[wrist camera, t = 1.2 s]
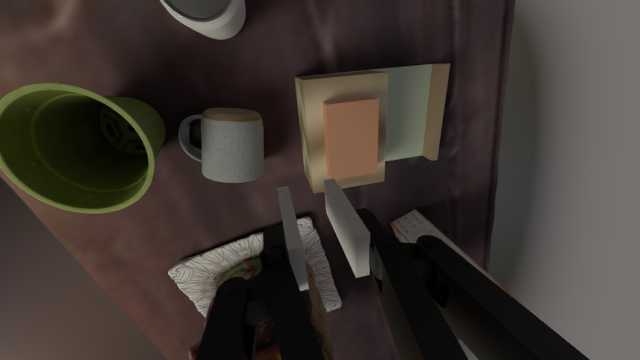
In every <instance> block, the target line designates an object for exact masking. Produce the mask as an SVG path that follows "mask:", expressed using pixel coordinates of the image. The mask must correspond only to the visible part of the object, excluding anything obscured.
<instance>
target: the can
mask: <svg viewBox="0 0 640 360" xmlns="http://www.w3.org/2000/svg"><path fill="white" fill-rule="evenodd" d="M160 1H161V3H162V4H163V5H164V7H165V8H166V9H167V10H168V12H169V13H170V14H171V15H172V16H173V17H175V18H176V19H177V20H178V21H180V22H181V23H183V24H184V25H186V26H188V27H189V28H191V29H193V30H195V31H197V32H199V33H201V34H203V35H205V36H207V37H210V38H213V39H218V40H224V39H229V38H231V37H233V36H235V35H236V34H237V33H238V32H239V31H240V30H241V28H242V26H243V24H244V21H245V16H246V8H245V2H244V0H160Z"/></svg>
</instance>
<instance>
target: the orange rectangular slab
mask: <svg viewBox="0 0 640 360" xmlns="http://www.w3.org/2000/svg"><path fill="white" fill-rule="evenodd" d="M322 105H323V120H324V135H325V149H326V164H327V174H328V176H329V178H330V179H341V178H347V177H353V176H359V175H365V174H371V173H377V156H378V117H379V99H378V98H375V97H363V98H354V99H345V100H336V101H327V102H322Z"/></svg>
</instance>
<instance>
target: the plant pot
mask: <svg viewBox="0 0 640 360" xmlns="http://www.w3.org/2000/svg"><path fill="white" fill-rule="evenodd" d="M102 114H103V115H105V116H106V117H108V118H106V117H104V116H103V115H102ZM109 118H110V119H109ZM107 124H110V125H111V127H112V130H113V132H114V134H115V135H114V136H112V135H111V134H110V133H109V131H108V128H107ZM130 125H132V126H133V128H134V129H135V131H132V130H130V129H129V126H130ZM165 136H166V131H165V125H164V122H163V120H162V118H161V116H160V115H159V114H158V112H157V111H156V110H155V109H154V108H152V107H151V106H149V105H148V104H146V103H144V102H142V101H140V100H138V99H134V98H128V97H115V96H103V95H100V94H98V93H95V92H93V91H91V90H88V89H85V88H82V87H78V86H74V85H69V84H63V83H49V82H48V83H36V84H30V85H26V86H23V87H20V88H18V89H16V90H14V91H12V92H10V93H8V94H7V95H5V96H4V97H3V98H2V99H1V100H0V168H1V169H2V170H3V172H4V173H5V174H6V175H7V176H8V178H10V179H11V180H12V181H13V182H14V183H15V184H16V185H17V186H18V187H20V188H21V189H23V190H24V191H26V192H27V193H28V194H30V195H31V196H33V197H35V198H36V199H38V200H40V201H43V202H45V203H47V204H49V205H52V206H55V207H58V208H61V209H64V210H68V211H73V212H80V213H107V212H112V211H117V210H120V209H123V208H125V207H127V206H129V205H131V204H133V203H135V202H136V201H137V200H139V199H140V198H141V197H142V196H143V195H144V194H145V192H146V191H147V190H148V188H149V186H150V184H151V182H152V180H153V177H154V172H155V158H156V156H157V154H158V152H159V150H160V148H161V146H162V144H163V143H164V140H165ZM136 146H145V148H146V149H142V150H137V149H136Z"/></svg>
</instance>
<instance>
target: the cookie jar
mask: <svg viewBox="0 0 640 360" xmlns="http://www.w3.org/2000/svg"><path fill="white" fill-rule="evenodd" d="M297 224H298V228H299V232H300V236H301V240H302V244H303V248H304V256H305V264H306V271H307V279H308V286H309V289H307V290H303V291H300V292H301V294H302V297H303V300H304V303H305V305H306V308H307V311H308V314H309V317H310V319H311V322H312V325H313V328H314V330H315V333H316V336H317V339H318V341H319V344H320V347H321V350H322V353H323V355H324V358H325V360H333V347H332V341H331V338H330V335H329V330H328V315H327V313H328V312H330V311H332V310H335V309H337V308H340V307H341V305H342V302H341V299H340V297H339V295H338V292H337V289H336V287H335V285H334V280H333V278H332V275H331V270H330V265H329V263H328V260H327V258H326V256H325V252H324V250H323V248H322V246H321V244H320V240H321V239H320V238H319V236H318V233H317V230H316V229H315V228H314V227H313V223H312V220H311V218H310V217H303V218H299V219H297ZM262 249H263V232H260V233H255V234H252V235H250V236H248V237H245V238H242V239H240V240H237V241H234V242H231V243H228V244H225V245H223V246H220V247H217V248H214V249H212V250H209V251H206V252H204V253H201V254H198V255H196V256H193V257H189V258H186V259H184V260H182V261H180V262H178V263H177V264H176V265H175V266H174V267H173V268H172V269H171V270H170V271H169V272H168V274H169V275H170V276H171V278H172V279H173V280H174V281H175V283H176V284H177V285H178V287H179V289H180V290H182V291H183V292H184V293H185V294H186V295H187V296H189V298H190V300H192V301H193V302H194V303H195V305H196V307H197V309H198V311H199V312H201V313H202V314H203V315H204V316H205V321H204V330H205V327H206V324H207V320H208V317H209V314H210V311H211V308H212V304H213V301H214V298H215V295H216V292H217V289H218V287H219V286H220V285H221V284H222V283H223V282H224V281H225V280H227V279H229V278H232V277H243V278H245V279H246V280H247V279H249V278H251V277H253V276H255V275H256V274H258V273H259V272H260V271H261V269H262V267H261V263H260V258H259V255H260V252H261V250H262ZM201 340H202V338H201ZM201 340H200V341H199V342H198V343H197V344H195V345H194V346H192V347H191V348H190V349H189V359H190V360H195V359H196V356H197V352H198V349H199V346H200V343H201ZM254 360H281V356H280V351H279V346H278V342H277V337H276V332H275V328H274V323H273V318H272V316H271V317H270V318H268V319H266V320H264V321H263V322H261V323H259V324H258V333H257V342H256V350H255V359H254Z"/></svg>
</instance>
